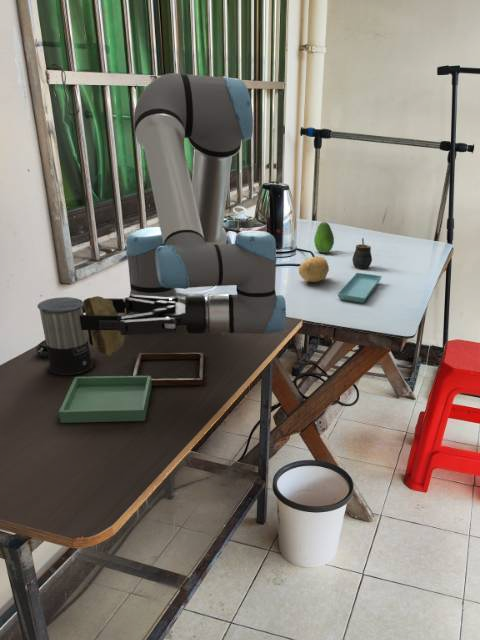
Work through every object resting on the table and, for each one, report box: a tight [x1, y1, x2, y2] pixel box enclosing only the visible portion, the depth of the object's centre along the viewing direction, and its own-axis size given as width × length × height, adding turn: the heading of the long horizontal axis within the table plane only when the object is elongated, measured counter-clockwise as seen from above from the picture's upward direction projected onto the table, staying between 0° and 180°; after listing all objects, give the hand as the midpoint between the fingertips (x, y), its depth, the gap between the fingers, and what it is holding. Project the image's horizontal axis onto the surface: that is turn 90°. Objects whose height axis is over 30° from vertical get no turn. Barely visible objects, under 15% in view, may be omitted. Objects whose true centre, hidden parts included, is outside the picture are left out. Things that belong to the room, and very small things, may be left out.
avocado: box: [314, 221, 335, 254], centre depth 235 cm, size 8×8×12 cm
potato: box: [298, 255, 330, 283], centre depth 201 cm, size 10×14×8 cm
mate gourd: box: [351, 237, 373, 270], centre depth 220 cm, size 7×8×10 cm
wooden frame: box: [132, 352, 205, 387], centre depth 133 cm, size 15×15×1 cm
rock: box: [82, 295, 127, 356], centre depth 114 cm, size 11×9×10 cm
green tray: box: [58, 375, 153, 424], centre depth 118 cm, size 15×15×2 cm
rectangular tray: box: [337, 272, 383, 304], centre depth 195 cm, size 26×9×2 cm, turn 163°
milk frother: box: [36, 296, 94, 376], centre depth 131 cm, size 14×16×15 cm
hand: (85, 313), depth 111 cm, fingers closed on rock, 9 cm apart
